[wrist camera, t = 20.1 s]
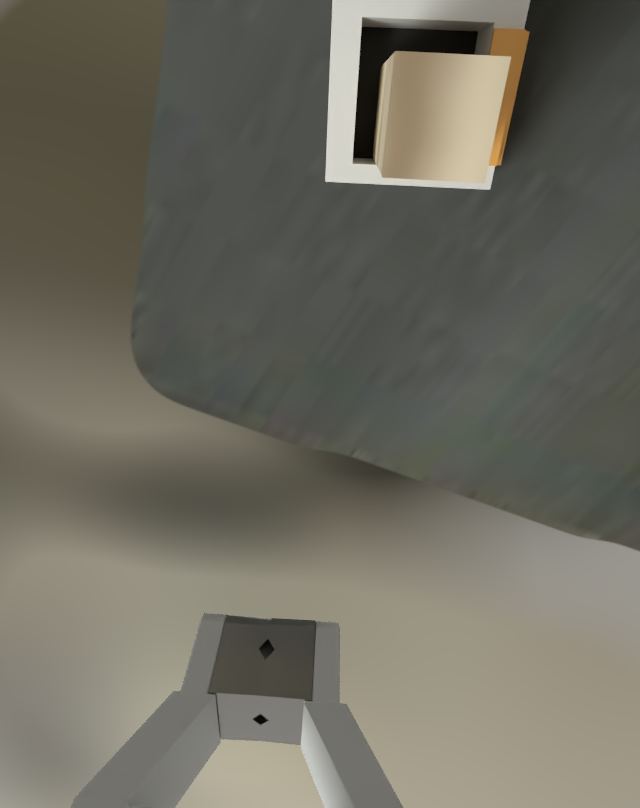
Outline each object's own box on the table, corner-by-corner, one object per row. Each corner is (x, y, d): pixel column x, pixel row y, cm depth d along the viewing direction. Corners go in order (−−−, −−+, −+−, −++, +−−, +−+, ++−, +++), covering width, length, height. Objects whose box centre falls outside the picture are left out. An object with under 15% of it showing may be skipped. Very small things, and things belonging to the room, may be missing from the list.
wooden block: (460, 70, 27) (511, 56, 19) (445, 160, 30) (484, 183, 21) (380, 66, 27) (395, 51, 19) (372, 156, 30) (382, 177, 21)
